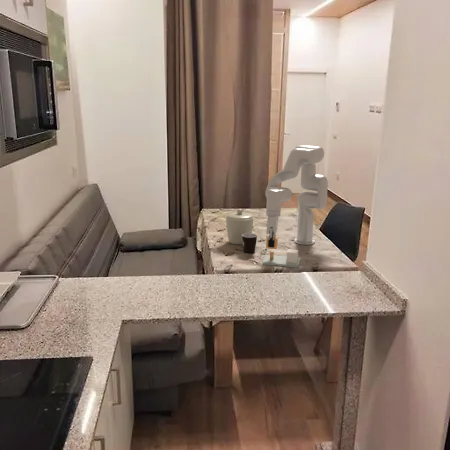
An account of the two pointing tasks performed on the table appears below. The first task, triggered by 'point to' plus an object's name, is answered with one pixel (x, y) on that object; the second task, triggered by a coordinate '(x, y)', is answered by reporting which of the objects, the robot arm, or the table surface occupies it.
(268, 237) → the tan wooden cube
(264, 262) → the junction board
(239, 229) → the canister
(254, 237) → the coffee mug
